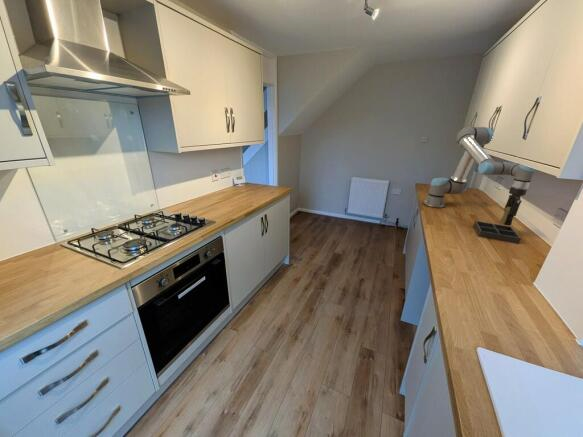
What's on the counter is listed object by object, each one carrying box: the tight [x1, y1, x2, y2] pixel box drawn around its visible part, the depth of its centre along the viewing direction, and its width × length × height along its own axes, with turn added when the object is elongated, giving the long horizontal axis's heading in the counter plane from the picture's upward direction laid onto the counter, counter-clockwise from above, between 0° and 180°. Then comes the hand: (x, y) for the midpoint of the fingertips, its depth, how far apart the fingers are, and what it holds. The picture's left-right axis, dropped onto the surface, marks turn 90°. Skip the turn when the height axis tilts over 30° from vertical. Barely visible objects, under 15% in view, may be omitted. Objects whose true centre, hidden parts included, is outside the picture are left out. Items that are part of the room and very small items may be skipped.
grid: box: [473, 220, 522, 245], centre depth 151 cm, size 19×19×4 cm
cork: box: [498, 207, 514, 226], centre depth 149 cm, size 6×6×11 cm
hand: (505, 223), depth 151 cm, fingers closed on cork, 6 cm apart
